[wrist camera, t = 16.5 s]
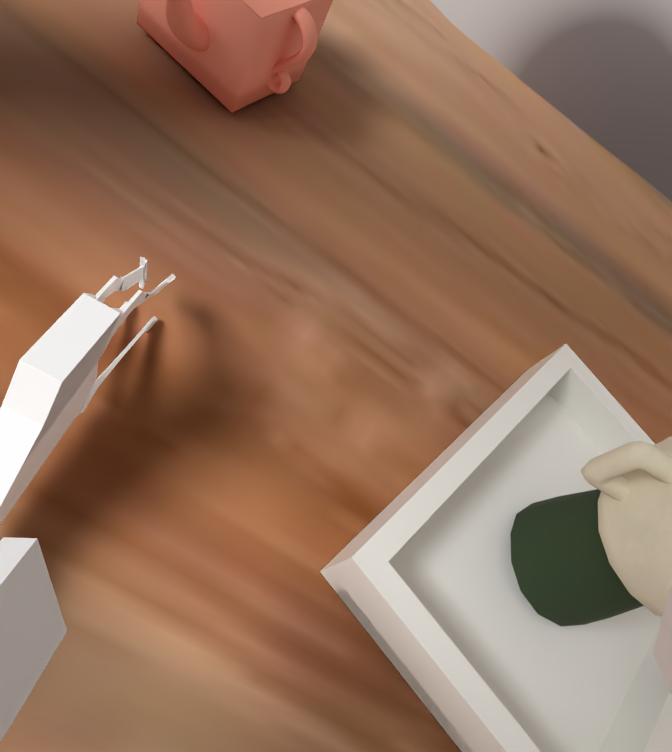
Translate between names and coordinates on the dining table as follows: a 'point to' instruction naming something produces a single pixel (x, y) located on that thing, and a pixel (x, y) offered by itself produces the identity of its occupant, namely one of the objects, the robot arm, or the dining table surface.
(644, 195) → the dining table surface
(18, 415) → the white flat pronged piece
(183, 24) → the teapot
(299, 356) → the dining table surface
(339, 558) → the tray
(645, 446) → the character mug
